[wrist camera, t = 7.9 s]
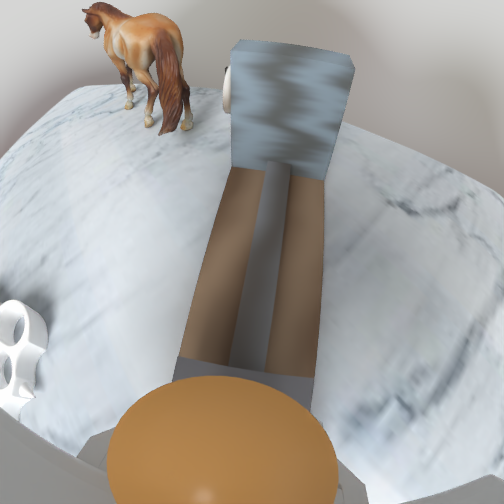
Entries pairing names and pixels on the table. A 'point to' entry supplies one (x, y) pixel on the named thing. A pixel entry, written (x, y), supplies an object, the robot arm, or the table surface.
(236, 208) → the walnut rail
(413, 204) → the table surface
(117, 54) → the horse figurine
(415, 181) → the table surface
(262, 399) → the carriage
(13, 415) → the white brass knuckles
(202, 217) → the table surface
